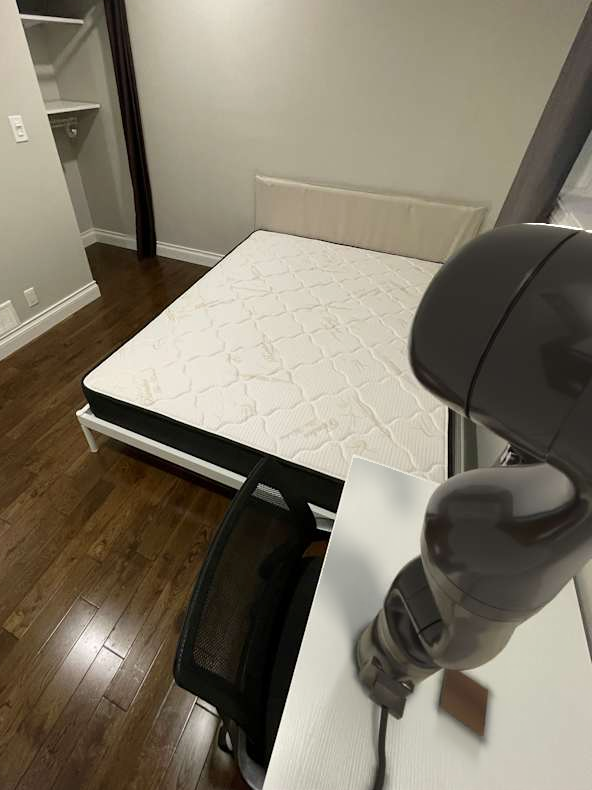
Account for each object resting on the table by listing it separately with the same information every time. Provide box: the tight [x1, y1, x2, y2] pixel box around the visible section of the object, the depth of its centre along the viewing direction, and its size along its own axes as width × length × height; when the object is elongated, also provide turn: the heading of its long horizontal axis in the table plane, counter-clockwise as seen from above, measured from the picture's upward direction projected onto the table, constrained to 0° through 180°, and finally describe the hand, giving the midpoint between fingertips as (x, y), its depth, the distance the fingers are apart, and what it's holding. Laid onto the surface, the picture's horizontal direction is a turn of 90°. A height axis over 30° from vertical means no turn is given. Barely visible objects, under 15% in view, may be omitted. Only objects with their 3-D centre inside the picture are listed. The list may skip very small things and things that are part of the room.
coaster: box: [439, 669, 489, 737], centre depth 58 cm, size 6×6×1 cm
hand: (493, 495), depth 56 cm, fingers closed
